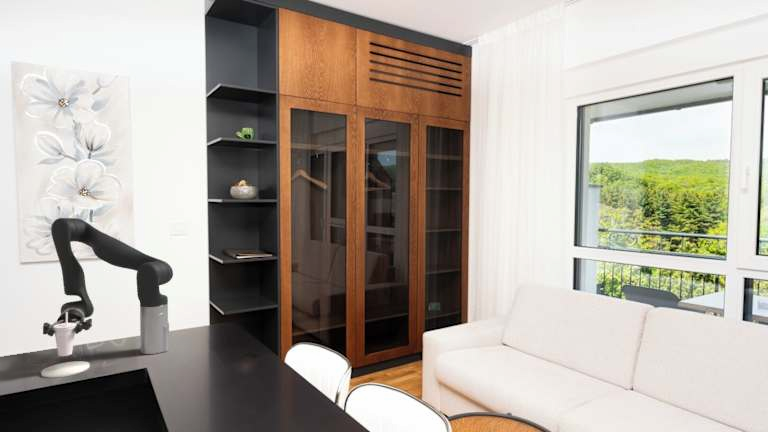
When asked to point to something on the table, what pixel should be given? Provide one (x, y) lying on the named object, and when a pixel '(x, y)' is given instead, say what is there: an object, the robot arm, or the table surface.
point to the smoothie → (65, 337)
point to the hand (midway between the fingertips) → (63, 331)
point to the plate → (65, 369)
